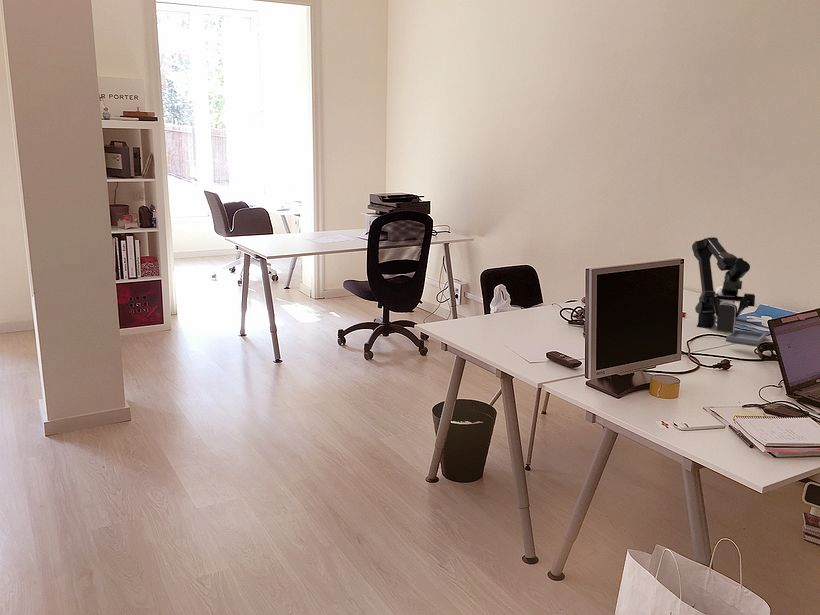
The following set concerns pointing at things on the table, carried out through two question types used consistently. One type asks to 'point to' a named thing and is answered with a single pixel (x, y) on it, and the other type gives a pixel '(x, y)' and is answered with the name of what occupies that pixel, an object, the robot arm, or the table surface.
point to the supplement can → (719, 291)
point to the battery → (726, 317)
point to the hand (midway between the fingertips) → (726, 316)
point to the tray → (746, 337)
